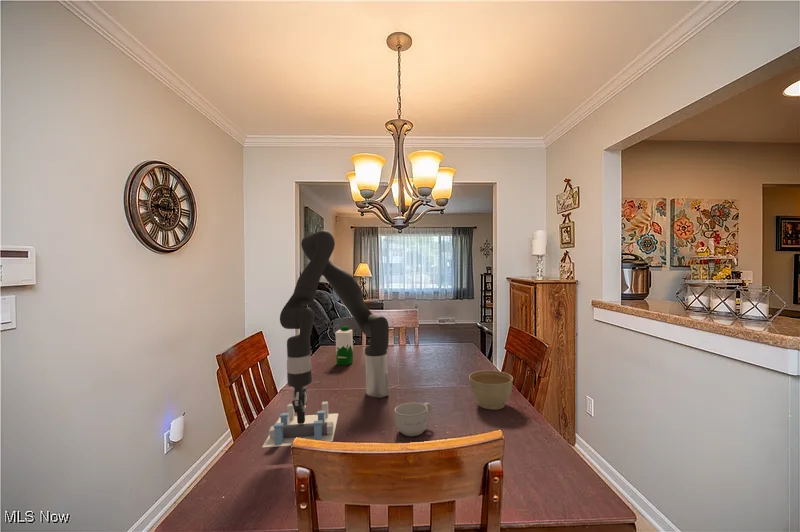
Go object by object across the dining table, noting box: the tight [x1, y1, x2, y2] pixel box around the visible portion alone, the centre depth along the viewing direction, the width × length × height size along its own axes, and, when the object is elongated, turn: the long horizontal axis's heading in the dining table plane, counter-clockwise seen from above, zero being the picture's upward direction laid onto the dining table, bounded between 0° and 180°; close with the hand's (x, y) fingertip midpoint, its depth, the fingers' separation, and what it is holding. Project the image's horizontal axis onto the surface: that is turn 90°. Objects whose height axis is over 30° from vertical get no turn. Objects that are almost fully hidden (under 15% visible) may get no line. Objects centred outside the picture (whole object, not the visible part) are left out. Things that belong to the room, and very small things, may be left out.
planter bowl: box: [468, 369, 514, 411], centre depth 136 cm, size 16×16×11 cm
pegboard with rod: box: [261, 400, 339, 449], centre depth 119 cm, size 21×21×6 cm
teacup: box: [394, 401, 432, 437], centre depth 117 cm, size 14×11×8 cm
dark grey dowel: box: [268, 422, 333, 438], centre depth 114 cm, size 20×4×4 cm, turn 95°
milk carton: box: [334, 325, 354, 366], centre depth 197 cm, size 9×9×20 cm
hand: (301, 422), depth 115 cm, fingers closed
